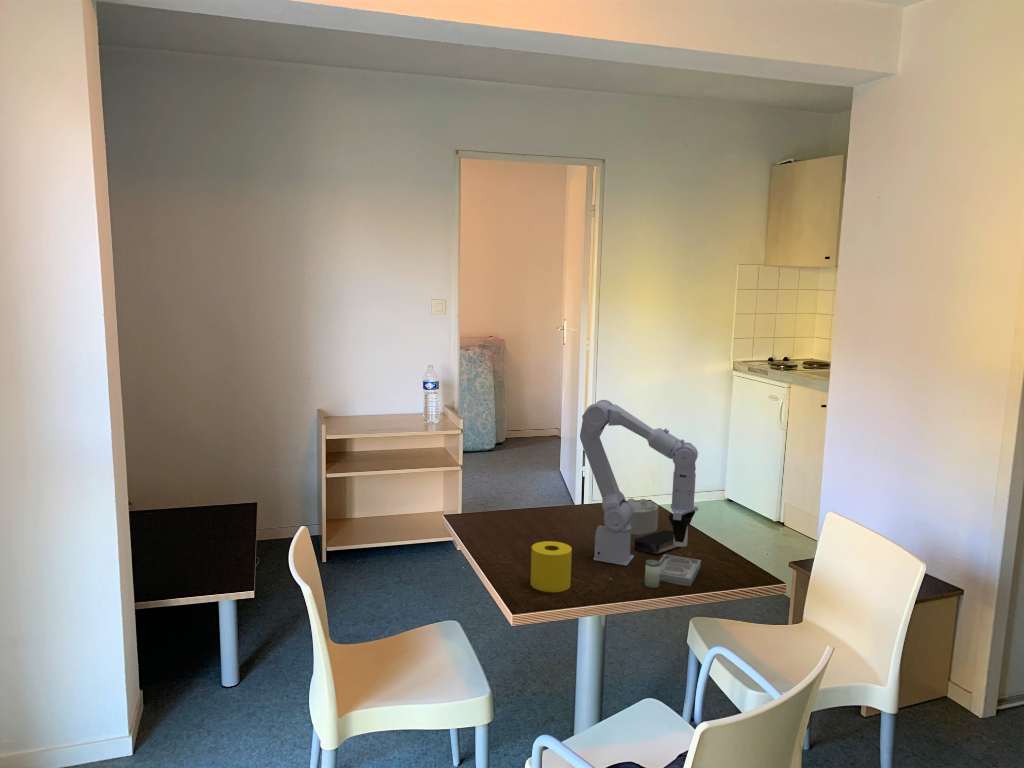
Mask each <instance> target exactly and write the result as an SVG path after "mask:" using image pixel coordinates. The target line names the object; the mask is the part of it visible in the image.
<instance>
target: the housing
mask: <svg viewBox="0 0 1024 768" xmlns="http://www.w3.org/2000/svg"><path fill="white" fill-rule="evenodd" d="M658 561H659V562H660V577H659V582H662V583H669V584H674V585H678V586H683V587H684V586H685V587H692V585H693V582H694V580H695V579H696V577H697V576H698V573H699V572H700V570H701V565H702V560H701V559H696V558H691V557H683V556H678V555H672V554H667V553H664V554H663V555H662V557H661V558H660V559H659V560H658Z"/></svg>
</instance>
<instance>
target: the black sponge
mask: <svg viewBox="0 0 1024 768" xmlns="http://www.w3.org/2000/svg"><path fill="white" fill-rule="evenodd" d="M673 540H674V532H673V530H670V529H669V530H668V529H666V530H660V531H656V532H652V533H649V534H646V535H644V536H641V537H637V538H634V548H635V549H636V550H638V551H643V552H648V553H651V554H657V555H658V554H660V553H664V552H667V551H669V550H672V549H675V548H678V547H679V546H675V545H674V544H673Z"/></svg>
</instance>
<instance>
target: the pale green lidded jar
mask: <svg viewBox="0 0 1024 768" xmlns="http://www.w3.org/2000/svg"><path fill="white" fill-rule="evenodd" d="M659 561H660V560H656V559H647V560H645V571H644V586H646V587H647V588H651V589H652V588H653V589H655V588H659V587H660V581H659V577H660V562H659Z"/></svg>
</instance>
